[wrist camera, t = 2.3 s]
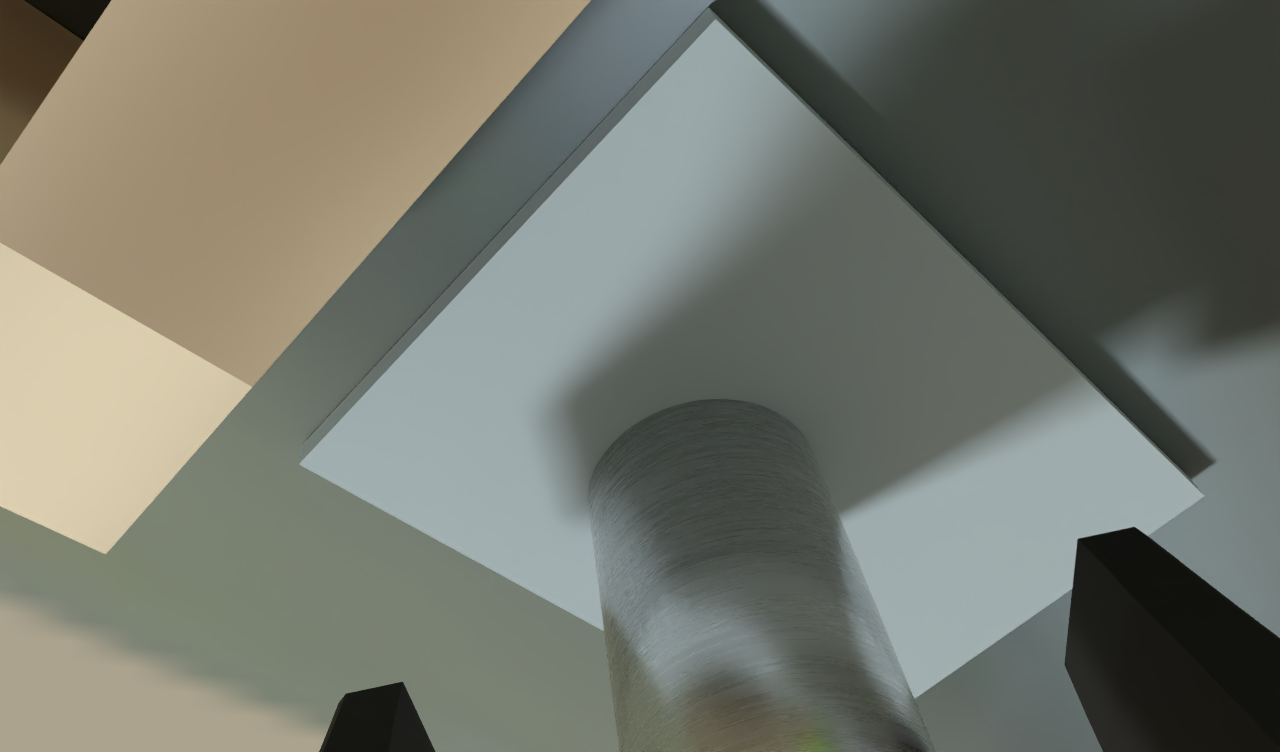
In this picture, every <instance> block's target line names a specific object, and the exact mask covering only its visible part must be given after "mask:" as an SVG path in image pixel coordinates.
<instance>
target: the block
mask: <svg viewBox="0 0 1280 752" xmlns="http://www.w3.org/2000/svg"><path fill="white" fill-rule="evenodd" d="M590 1H591V0H111V2H110V3H109V5H108V6H107V8H106V9H105V11H104V12H103V14H102V15H101V17H100V18H99V20H98V21H97V22H96V24H95V25H94V27H93V28H92V30H91V31H90V33H89V34H88V36H87V37H86V39H85V40H84V41H83V40H82V39H80V38H79V37H77V36H76V35H74V34H73V33H71V32H70V31H68V30H67V29H66V28H64V27H63V26H61V25H60V24H58V23H57V22H55V21H54V20H52V19H51V18H49V17H48V16H47V15H45V14H44V13H42V12H41V11H39V10H38V9H36V8H35V7H33V6H32V5H31V4H29V3H28V2H26V1H25V0H0V506H1V507H3V508H5V509H8V510H10V511H12V512H14V513H16V514H19V515H21V516H23V517H25V518H27V519H30V520H32V521H34V522H36V523H38V524H40V525H43V526H45V527H47V528H49V529H51V530H54V531H56V532H58V533H60V534H62V535H65V536H67V537H69V538H71V539H73V540H75V541H78V542H80V543H82V544H84V545H86V546H89V547H91V548H93V549H95V550H97V551H99V552H102V553H104V554H106V553H107V552H108V551H109V550H110V549H111V548H112V547H113V545H114V544H115V543H116V542H117V541H118V540H119V539H120V537H121V536H122V535H123V534H124V533H125V532H126V531H127V529H128V528H129V527H130V526H131V525H132V524H133V523H134V521H135V520H136V519H137V518H138V517H139V516H140V515H141V513H142V512H143V511H144V510H145V509H146V508H147V507H148V505H149V504H150V503H151V502H152V501H153V500H154V499H155V497H156V496H157V495H158V494H159V493H160V492H161V491H162V489H163V488H164V487H165V486H166V485H167V484H168V483H169V481H170V480H171V479H172V478H173V477H174V476H175V475H176V473H177V472H178V471H179V470H180V469H181V468H182V467H183V465H184V464H185V463H186V462H187V461H188V460H189V459H190V457H191V456H192V455H193V454H194V453H195V452H196V451H197V449H198V448H199V447H200V446H201V445H202V444H203V443H204V441H205V440H206V439H207V438H208V437H209V436H210V435H211V434H212V432H213V431H214V430H215V429H216V428H217V427H218V426H219V424H220V423H221V422H222V421H223V420H224V419H225V418H226V416H227V415H228V414H229V413H230V412H231V411H232V410H233V408H234V407H235V406H236V405H237V404H238V403H239V402H240V400H241V399H242V398H243V397H244V396H245V395H246V394H247V392H248V391H249V390H250V389H251V388H252V387H253V386H254V384H255V383H256V382H257V381H258V380H259V379H260V378H261V376H262V375H263V374H264V373H265V372H266V371H267V370H268V368H269V367H270V366H271V365H272V364H273V363H274V362H275V360H276V359H277V358H278V357H279V356H280V355H281V354H282V352H283V351H284V350H285V349H286V348H287V347H288V346H289V344H290V343H291V342H292V341H293V340H294V339H295V338H296V336H297V335H298V334H299V333H300V332H301V331H302V330H303V328H304V327H305V326H306V325H307V324H308V323H309V322H310V320H311V319H312V318H313V317H314V316H315V315H316V314H317V313H318V311H319V310H320V309H321V308H322V307H323V306H324V305H325V303H326V302H327V301H328V300H329V299H330V298H331V297H332V295H333V294H334V293H335V292H336V291H337V290H338V289H339V287H340V286H341V285H342V284H343V283H344V282H345V281H346V279H347V278H348V277H349V276H350V275H351V274H352V273H353V271H354V270H355V269H356V268H357V267H358V266H359V265H360V263H361V262H362V261H363V260H364V259H365V258H366V257H367V255H368V254H369V253H370V252H371V251H372V250H373V249H374V247H375V246H376V245H377V244H378V243H379V242H380V241H381V239H382V238H383V237H384V236H385V235H386V234H387V233H388V231H389V230H390V229H391V228H392V227H393V226H394V225H395V223H396V222H397V221H398V220H399V219H400V218H401V217H402V215H403V214H404V213H405V212H406V211H407V210H408V209H409V207H410V206H411V205H412V204H413V203H414V202H415V201H416V199H417V198H418V197H419V196H420V195H421V194H422V193H423V192H424V190H425V189H426V188H427V187H428V186H429V185H430V184H431V182H432V181H433V180H434V179H435V178H436V177H437V176H438V174H439V173H440V172H441V171H442V170H443V169H444V168H445V166H446V165H447V164H448V163H449V162H450V161H451V160H452V158H453V157H454V156H455V155H456V154H457V153H458V152H459V150H460V149H461V148H462V147H463V146H464V145H465V144H466V142H467V141H468V140H469V139H470V138H471V137H472V136H473V134H474V133H475V132H476V131H477V130H478V129H479V128H480V126H481V125H482V124H483V123H484V122H485V121H486V120H487V118H488V117H489V116H490V115H491V114H492V113H493V112H494V110H495V109H496V108H497V107H498V106H499V105H500V104H501V102H502V101H503V100H504V99H505V98H506V97H507V96H508V94H509V93H510V92H511V91H512V90H513V89H514V88H515V86H516V85H517V84H518V83H519V82H520V81H521V80H522V78H523V77H524V76H525V75H526V74H527V73H528V72H529V71H530V69H531V68H532V67H533V66H534V65H535V64H536V63H537V61H538V60H539V59H540V58H541V57H542V56H543V55H544V53H545V52H546V51H547V50H548V49H549V48H550V47H551V45H552V44H553V43H554V42H555V41H556V40H557V39H558V37H559V36H560V35H561V34H562V33H563V32H564V31H565V29H566V28H567V27H568V26H569V25H570V24H571V23H572V21H573V20H574V19H575V18H576V17H577V16H578V15H579V13H580V12H581V11H582V10H583V9H584V8H585V7H586V5H587V4H588V3H589V2H590Z"/></svg>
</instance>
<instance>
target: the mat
mask: <svg viewBox="0 0 1280 752" xmlns="http://www.w3.org/2000/svg"><path fill="white" fill-rule="evenodd" d="M707 399H730V400H740V401H745V402H750V403H754V404H757V405H760V406H763V407H766V408H769V409H771V410H773V411H775V412H777V413H779V414H781V415H782V416H784V417H785V418H786V419H788V420H789V421H791V422H792V423H793V424H794V425H795V426H796V427H797V428H798V429H799V430H800V431H801V432H802V433H803V435H804V436H805V437H806V439H807V440H808V442H809V444H810V446H811V448H812V449H813V452H814V454H815V457H816V459H817V462H818V464H819V466H820V469H821V471H822V474H823V476H824V479H825V481H826V484H827V486H828V489H829V491H830V493H831V496H832V498H833V501H834V503H835V506H836V508H837V511H838V513H839V515H840V518H841V520H842V523H843V525H844V528H845V530H846V533H847V535H848V538H849V540H850V542H851V545H852V547H853V550H854V552H855V555H856V557H857V560H858V562H859V565H860V567H861V569H862V572H863V574H864V577H865V579H866V582H867V584H868V587H869V589H870V591H871V594H872V596H873V599H874V601H875V604H876V606H877V609H878V611H879V614H880V616H881V618H882V621H883V623H884V626H885V628H886V631H887V633H888V636H889V638H890V640H891V643H892V645H893V648H894V650H895V653H896V655H897V658H898V660H899V663H900V665H901V667H902V670H903V672H904V675H905V677H906V680H907V682H908V685H909V687H910V690H911V692H912V694H913V697H914V699H915V698H916V697H918V696H919V695H921V694H922V693H923V692H925V691H926V690H928V689H929V688H931V687H932V686H933V685H935V684H936V683H938V682H939V681H941V680H942V679H943V678H945V677H946V676H948V675H949V674H951V673H952V672H954V671H955V670H956V669H958V668H959V667H961V666H962V665H964V664H965V663H966V662H968V661H969V660H971V659H972V658H974V657H975V656H976V655H978V654H979V653H981V652H982V651H984V650H985V649H986V648H988V647H989V646H991V645H992V644H994V643H995V642H996V641H998V640H999V639H1001V638H1002V637H1004V636H1005V635H1006V634H1008V633H1009V632H1011V631H1012V630H1014V629H1015V628H1016V627H1018V626H1019V625H1021V624H1022V623H1024V622H1025V621H1027V620H1028V619H1029V618H1031V617H1032V616H1034V615H1035V614H1037V613H1038V612H1039V611H1041V610H1042V609H1044V608H1045V607H1047V606H1048V605H1049V604H1051V603H1052V602H1054V601H1055V600H1057V599H1058V598H1059V597H1061V596H1062V595H1064V594H1065V593H1067V592H1068V591H1069V590H1071V589H1072V588H1073V578H1074V568H1075V558H1076V549H1077V539H1079V538H1084V537H1088V536H1093V535H1098V534H1102V533H1107V532H1112V531H1117V530H1121V529H1126V528H1131V527H1136V528H1137V529H1139V530H1140V531H1141V532H1143V533H1144V534H1146V535H1147V536H1148V535H1150V534H1151V533H1152V532H1154V531H1155V530H1157V529H1158V528H1160V527H1161V526H1162V525H1164V524H1165V523H1167V522H1168V521H1170V520H1171V519H1173V518H1174V517H1175V516H1177V515H1178V514H1180V513H1181V512H1183V511H1184V510H1185V509H1187V508H1188V507H1190V506H1191V505H1193V504H1194V503H1195V502H1197V501H1198V500H1200V499H1201V498H1203V497H1204V495H1203V493H1202V492H1201V491H1200V490H1199V489H1198V487H1197V486H1196V485H1195V484H1194V483H1193V481H1192V480H1191V479H1190V478H1189V477H1188V476H1187V475H1186V474H1185V473H1184V472H1183V471H1182V470H1181V469H1180V468H1179V467H1178V466H1177V465H1176V464H1175V463H1174V462H1173V461H1172V460H1171V459H1170V458H1169V457H1168V456H1167V455H1166V454H1165V453H1164V452H1163V451H1162V450H1161V449H1160V448H1159V447H1158V446H1156V445H1155V444H1154V443H1153V442H1152V441H1151V440H1150V439H1149V438H1148V437H1147V436H1146V435H1145V434H1144V433H1143V432H1142V431H1141V430H1140V429H1139V428H1138V427H1137V426H1136V425H1135V424H1134V423H1133V422H1132V421H1131V420H1130V419H1129V418H1128V417H1127V416H1126V415H1125V414H1124V413H1123V412H1122V411H1121V410H1120V409H1119V408H1118V407H1117V406H1116V405H1115V404H1114V403H1113V402H1112V401H1110V400H1109V399H1108V398H1107V397H1106V396H1105V395H1104V394H1103V393H1102V392H1101V391H1100V390H1099V389H1098V388H1097V387H1096V386H1095V385H1094V384H1093V383H1092V382H1091V381H1090V380H1089V379H1088V378H1087V377H1086V376H1085V375H1084V374H1083V373H1082V372H1081V371H1080V370H1079V369H1078V368H1077V367H1076V366H1075V365H1074V364H1073V363H1072V362H1071V361H1070V360H1069V359H1068V358H1067V357H1066V356H1065V355H1063V354H1062V353H1061V352H1060V351H1059V350H1058V349H1057V348H1056V347H1055V346H1054V345H1053V344H1052V343H1051V342H1050V341H1049V340H1048V339H1047V338H1046V337H1045V336H1044V335H1043V334H1042V333H1041V332H1040V331H1039V330H1038V329H1037V328H1036V327H1035V326H1034V325H1033V324H1032V323H1031V322H1030V321H1029V320H1028V319H1027V318H1026V317H1025V316H1024V315H1023V314H1022V313H1021V312H1020V311H1019V310H1018V309H1016V308H1015V307H1014V306H1013V305H1012V304H1011V303H1010V302H1009V301H1008V300H1007V299H1006V298H1005V297H1004V296H1003V295H1002V294H1001V293H1000V292H999V291H998V290H997V289H996V288H995V287H994V286H993V285H992V284H991V283H990V282H989V281H988V280H987V279H986V278H985V277H984V276H983V275H982V274H981V273H980V272H979V271H978V270H977V269H976V268H975V267H974V266H973V265H972V264H971V263H969V262H968V261H967V260H966V259H965V258H964V257H963V256H962V255H961V254H960V253H959V252H958V251H957V250H956V249H955V248H954V247H953V246H952V245H951V244H950V243H949V242H948V241H947V240H946V239H945V238H944V237H943V236H942V235H941V234H940V233H939V232H938V231H937V230H936V229H935V228H934V227H933V226H932V225H931V224H930V223H929V222H928V221H927V220H926V219H925V218H924V217H922V216H921V215H920V214H919V213H918V212H917V211H916V210H915V209H914V208H913V207H912V206H911V205H910V204H909V203H908V202H907V201H906V200H905V199H904V198H903V197H902V196H901V195H900V194H899V193H898V192H897V191H896V190H895V189H894V188H893V187H892V186H891V185H890V184H889V183H888V182H887V181H886V180H885V179H884V178H883V177H882V176H881V175H880V174H879V173H878V172H877V171H875V170H874V169H873V168H872V167H871V166H870V165H869V164H868V163H867V162H866V161H865V160H864V159H863V158H862V157H861V156H860V155H859V154H858V153H857V152H856V151H855V150H854V149H853V148H852V147H851V146H850V145H849V144H848V143H847V142H846V141H845V140H844V139H843V138H842V137H841V136H840V135H839V134H838V133H837V132H836V131H835V130H834V129H833V128H832V127H831V126H830V125H828V124H827V123H826V122H825V121H824V120H823V119H822V118H821V117H820V116H819V115H818V114H817V113H816V112H815V111H814V110H813V109H812V108H811V107H810V106H809V105H808V104H807V103H806V102H805V101H804V100H803V99H802V98H801V97H800V96H799V95H798V94H797V93H796V92H795V91H794V90H793V89H792V88H791V87H790V86H789V85H788V84H787V83H786V82H785V81H784V80H783V79H781V78H780V77H779V76H778V75H777V74H776V73H775V72H774V71H773V70H772V69H771V68H770V67H769V66H768V65H767V64H766V63H765V62H764V61H763V60H762V59H761V58H760V57H759V56H758V55H757V54H756V53H755V52H754V51H753V50H752V49H751V48H750V47H749V46H748V45H747V44H746V43H745V42H744V41H743V40H742V39H741V38H740V37H739V36H738V35H737V34H736V33H734V32H733V31H732V30H731V29H730V28H729V27H728V26H727V25H726V24H725V23H724V22H723V21H722V20H721V19H720V18H719V17H718V16H717V15H716V14H715V13H714V12H713V11H712V10H711V9H710V8H709V7H708V8H707V9H706V10H705V11H704V12H703V13H702V14H701V15H700V16H699V18H698V19H697V20H696V21H695V22H694V23H693V24H692V25H691V26H690V27H689V28H688V29H687V30H686V32H685V33H684V34H683V35H682V36H681V37H680V38H679V39H678V40H677V41H676V42H675V43H674V45H673V46H672V47H671V48H670V49H669V50H668V51H667V52H666V53H665V54H664V55H663V56H662V57H661V59H660V60H659V61H658V62H657V63H656V64H655V65H654V66H653V67H652V68H651V69H650V70H649V71H648V73H647V74H646V75H645V76H644V77H643V78H642V79H641V80H640V81H639V82H638V83H637V84H636V85H635V87H634V88H633V89H632V90H631V91H630V92H629V93H628V94H627V95H626V96H625V97H624V98H623V99H622V101H621V102H620V103H619V104H618V105H617V106H616V107H615V108H614V109H613V110H612V111H611V112H610V113H609V115H608V116H607V117H606V118H605V119H604V120H603V121H602V122H601V123H600V124H599V125H598V126H597V127H596V129H595V130H594V131H593V132H592V133H591V134H590V135H589V136H588V137H587V138H586V139H585V140H584V142H583V143H582V144H581V145H580V146H579V147H578V148H577V149H576V150H575V151H574V152H573V153H572V154H571V156H570V157H569V158H568V159H567V160H566V161H565V162H564V163H563V164H562V165H561V166H560V167H559V168H558V170H557V171H556V172H555V173H554V174H553V175H552V176H551V177H550V178H549V179H548V180H547V181H546V182H545V184H544V185H543V186H542V187H541V188H540V189H539V190H538V191H537V192H536V193H535V194H534V195H533V196H532V198H531V199H530V200H529V201H528V202H527V203H526V204H525V205H524V206H523V207H522V208H521V209H520V210H519V212H518V213H517V214H516V215H515V216H514V217H513V218H512V219H511V220H510V221H509V222H508V223H507V224H506V226H505V227H504V228H503V229H502V230H501V231H500V232H499V233H498V234H497V235H496V236H495V237H494V239H493V240H492V241H491V242H490V243H489V244H488V245H487V246H486V247H485V248H484V249H483V250H482V251H481V253H480V254H479V255H478V256H477V257H476V258H475V259H474V260H473V261H472V262H471V263H470V264H469V265H468V267H467V268H466V269H465V270H464V271H463V272H462V273H461V274H460V275H459V276H458V277H457V278H456V279H455V281H454V282H453V283H452V284H451V285H450V286H449V287H448V288H447V289H446V290H445V291H444V292H443V293H442V295H441V296H440V297H439V298H438V299H437V300H436V301H435V302H434V303H433V304H432V305H431V306H430V307H429V309H428V310H427V311H426V312H425V313H424V314H423V315H422V316H421V317H420V318H419V319H418V320H417V321H416V323H415V324H414V325H413V326H412V327H411V328H410V329H409V330H408V331H407V332H406V333H405V334H404V336H403V337H402V338H401V339H400V340H399V341H398V342H397V343H396V344H395V345H394V346H393V347H392V348H391V350H390V351H389V352H388V353H387V354H386V355H385V356H384V357H383V358H382V359H381V360H380V361H379V362H378V364H377V365H376V366H375V367H374V368H373V369H372V370H371V371H370V372H369V373H368V374H367V375H366V376H365V378H364V379H363V380H362V381H361V382H360V383H359V384H358V385H357V386H356V387H355V388H354V389H353V390H352V392H351V393H350V394H349V395H348V396H347V397H346V398H345V399H344V400H343V401H342V402H341V403H340V404H339V406H338V407H337V408H336V409H335V410H334V411H333V412H332V413H331V414H330V415H329V416H328V417H327V418H326V420H325V421H324V422H323V423H322V424H321V425H320V426H319V427H318V428H317V429H316V430H315V431H314V432H313V434H312V435H311V436H310V437H309V438H308V439H307V440H306V441H305V442H304V443H303V447H302V452H301V457H300V462H299V465H301V466H303V467H305V468H307V469H309V470H310V471H312V472H314V473H316V474H318V475H319V476H321V477H323V478H325V479H327V480H329V481H330V482H332V483H334V484H336V485H338V486H340V487H341V488H343V489H345V490H347V491H349V492H351V493H352V494H354V495H356V496H358V497H360V498H362V499H363V500H365V501H367V502H369V503H371V504H372V505H374V506H376V507H378V508H380V509H382V510H383V511H385V512H387V513H389V514H391V515H393V516H394V517H396V518H398V519H400V520H402V521H404V522H405V523H407V524H409V525H411V526H413V527H415V528H416V529H418V530H420V531H422V532H424V533H425V534H427V535H429V536H431V537H433V538H435V539H436V540H438V541H440V542H442V543H444V544H446V545H447V546H449V547H451V548H453V549H455V550H457V551H458V552H460V553H462V554H464V555H466V556H467V557H469V558H471V559H473V560H475V561H477V562H478V563H480V564H482V565H484V566H486V567H488V568H489V569H491V570H493V571H495V572H497V573H499V574H500V575H502V576H504V577H506V578H508V579H510V580H511V581H513V582H515V583H517V584H519V585H520V586H522V587H524V588H526V589H528V590H530V591H531V592H533V593H535V594H537V595H539V596H541V597H542V598H544V599H546V600H548V601H550V602H552V603H553V604H555V605H557V606H559V607H561V608H563V609H564V610H566V611H568V612H570V613H572V614H573V615H575V616H577V617H579V618H581V619H583V620H584V621H586V622H588V623H590V624H592V625H594V626H595V627H597V628H599V629H601V630H603V631H604V625H603V618H602V610H601V602H600V594H599V587H598V579H597V571H596V563H595V555H594V548H593V540H592V532H591V524H590V516H589V508H588V491H589V486H590V482H591V478H592V475H593V473H594V470H595V468H596V466H597V464H598V463H599V461H600V459H601V457H602V456H603V454H604V453H605V452H606V451H607V449H608V448H609V447H610V445H611V444H612V443H613V442H614V441H615V440H616V439H617V438H618V437H619V436H620V435H621V434H623V433H624V432H625V431H627V430H628V429H629V428H630V427H632V426H633V425H635V424H636V423H638V422H640V421H641V420H643V419H644V418H646V417H648V416H650V415H652V414H654V413H657V412H659V411H661V410H664V409H666V408H669V407H672V406H675V405H679V404H683V403H687V402H692V401H699V400H707Z"/></svg>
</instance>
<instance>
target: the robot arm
mask: <svg viewBox="0 0 1280 752" xmlns="http://www.w3.org/2000/svg"><path fill="white" fill-rule="evenodd" d="M1065 667H1066V669H1067V671H1068V674H1069V676H1070V678H1071V681H1072V683H1073V685H1074V688H1075V690H1076V692H1077V695H1078V697H1079V699H1080V701H1081V704H1082V706H1083V708H1084V711H1085V713H1086V715H1087V717H1088V720H1089V722H1090V724H1091V726H1092V728H1093V730H1094V733H1095V735H1096V737H1097V739H1098V741H1099V743H1100V746H1101V748H1102V750H1103V752H1280V638H1279V637H1278V636H1276V635H1275V634H1274V633H1272V632H1271V631H1270V630H1268V629H1267V628H1266V627H1264V626H1263V625H1262V624H1260V623H1259V622H1258V621H1256V620H1255V619H1254V618H1253V617H1251V616H1250V615H1249V614H1247V613H1246V612H1245V611H1243V610H1242V609H1241V608H1239V607H1238V606H1237V605H1236V604H1234V603H1233V602H1232V601H1230V600H1229V599H1228V598H1226V597H1225V596H1224V595H1222V594H1221V593H1220V592H1219V591H1217V590H1216V589H1215V588H1213V587H1212V586H1211V585H1210V584H1208V583H1207V582H1206V581H1205V580H1203V579H1202V578H1201V577H1199V576H1198V575H1197V574H1196V573H1194V572H1193V571H1192V570H1190V569H1189V568H1188V567H1187V566H1185V565H1184V564H1183V563H1181V562H1180V561H1179V560H1178V559H1176V558H1175V557H1174V556H1173V555H1171V554H1170V553H1169V552H1167V551H1166V550H1165V549H1164V548H1162V547H1161V546H1160V545H1159V544H1157V543H1156V542H1155V541H1153V540H1152V539H1151V538H1149V537H1148V536H1147V535H1146V534H1144V533H1143V532H1141V531H1140V530H1139V529H1137V528H1136V527H1131V528H1126V529H1121V530H1117V531H1112V532H1107V533H1102V534H1098V535H1093V536H1088V537H1084V538H1079V539H1077V549H1076V558H1075V568H1074V578H1073V588H1072V597H1071V607H1070V617H1069V627H1068V636H1067V646H1066V656H1065ZM319 752H435V750H434V748H433V746H432V744H431V741H430V739H429V737H428V735H427V733H426V731H425V728H424V726H423V724H422V722H421V720H420V718H419V715H418V713H417V711H416V709H415V707H414V705H413V703H412V700H411V698H410V696H409V694H408V692H407V690H406V687H405V685H404V683H403V682H399V683H395V684H390V685H385V686H380V687H376V688H371V689H366V690H362V691H357V692H352V693H347V694H345V696H344V697H343V698H342V700H341V701H340V702H339V704H338V706H337V709H336V711H335V714H334V716H333V719H332V722H331V724H330V727H329V729H328V732H327V734H326V737H325V739H324V742H323V744H322V746H321V749H320V751H319Z"/></svg>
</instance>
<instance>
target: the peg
mask: <svg viewBox="0 0 1280 752" xmlns="http://www.w3.org/2000/svg"><path fill="white" fill-rule="evenodd" d="M588 508H589V516H590V524H591V532H592V540H593V548H594V555H595V563H596V571H597V579H598V587H599V594H600V602H601V610H602V618H603V625H604V633H605V641H606V649H607V657H608V664H609V672H610V680H611V688H612V696H613V703H614V711H615V719H616V727H617V735H618V742H619V750H620V752H936V751H935V748H934V746H933V743H932V741H931V739H930V736H929V734H928V731H927V729H926V726H925V724H924V721H923V719H922V716H921V714H920V712H919V709H918V707H917V704H916V702H915V699H914V697H913V694H912V692H911V690H910V687H909V685H908V682H907V680H906V677H905V675H904V672H903V670H902V667H901V665H900V663H899V660H898V658H897V655H896V653H895V650H894V648H893V645H892V643H891V640H890V638H889V636H888V633H887V631H886V628H885V626H884V623H883V621H882V618H881V616H880V614H879V611H878V609H877V606H876V604H875V601H874V599H873V596H872V594H871V591H870V589H869V587H868V584H867V582H866V579H865V577H864V574H863V572H862V569H861V567H860V565H859V562H858V560H857V557H856V555H855V552H854V550H853V547H852V545H851V542H850V540H849V538H848V535H847V533H846V530H845V528H844V525H843V523H842V520H841V518H840V515H839V513H838V511H837V508H836V506H835V503H834V501H833V498H832V496H831V493H830V491H829V489H828V486H827V484H826V481H825V479H824V476H823V474H822V471H821V469H820V466H819V464H818V462H817V459H816V457H815V454H814V452H813V449H812V448H811V446H810V444H809V442H808V440H807V439H806V437H805V436H804V435H803V433H802V432H801V431H800V430H799V429H798V428H797V427H796V426H795V425H794V424H793V423H792V422H791V421H789V420H788V419H786V418H785V417H784V416H782V415H781V414H779V413H777V412H775V411H773V410H771V409H769V408H766V407H763V406H760V405H757V404H754V403H750V402H745V401H740V400H730V399H707V400H699V401H692V402H687V403H683V404H679V405H675V406H672V407H669V408H666V409H664V410H661V411H659V412H657V413H654V414H652V415H650V416H648V417H646V418H644V419H643V420H641V421H640V422H638V423H636V424H635V425H633V426H632V427H630V428H629V429H628V430H627V431H625V432H624V433H623V434H621V435H620V436H619V437H618V438H617V439H616V440H615V441H614V442H613V443H612V444H611V445H610V447H609V448H608V449H607V451H606V452H605V453H604V454H603V456H602V457H601V459H600V461H599V463H598V464H597V466H596V468H595V470H594V473H593V475H592V478H591V482H590V486H589V491H588Z"/></svg>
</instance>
